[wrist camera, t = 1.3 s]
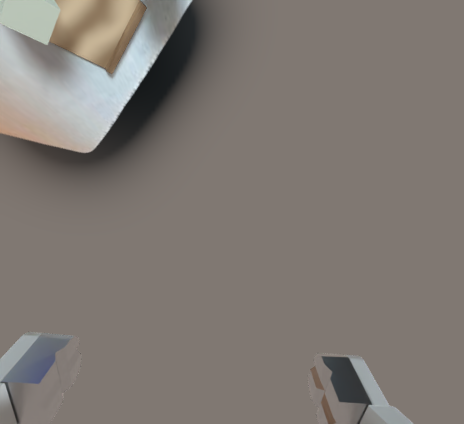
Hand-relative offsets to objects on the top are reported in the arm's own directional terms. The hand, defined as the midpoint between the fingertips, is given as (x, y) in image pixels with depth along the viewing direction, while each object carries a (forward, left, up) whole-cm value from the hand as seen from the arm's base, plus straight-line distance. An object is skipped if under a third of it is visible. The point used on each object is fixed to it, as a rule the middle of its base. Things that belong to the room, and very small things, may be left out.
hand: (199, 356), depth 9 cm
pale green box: (+7, -7, -53) cm, 54 cm away
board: (+18, -6, -53) cm, 57 cm away
